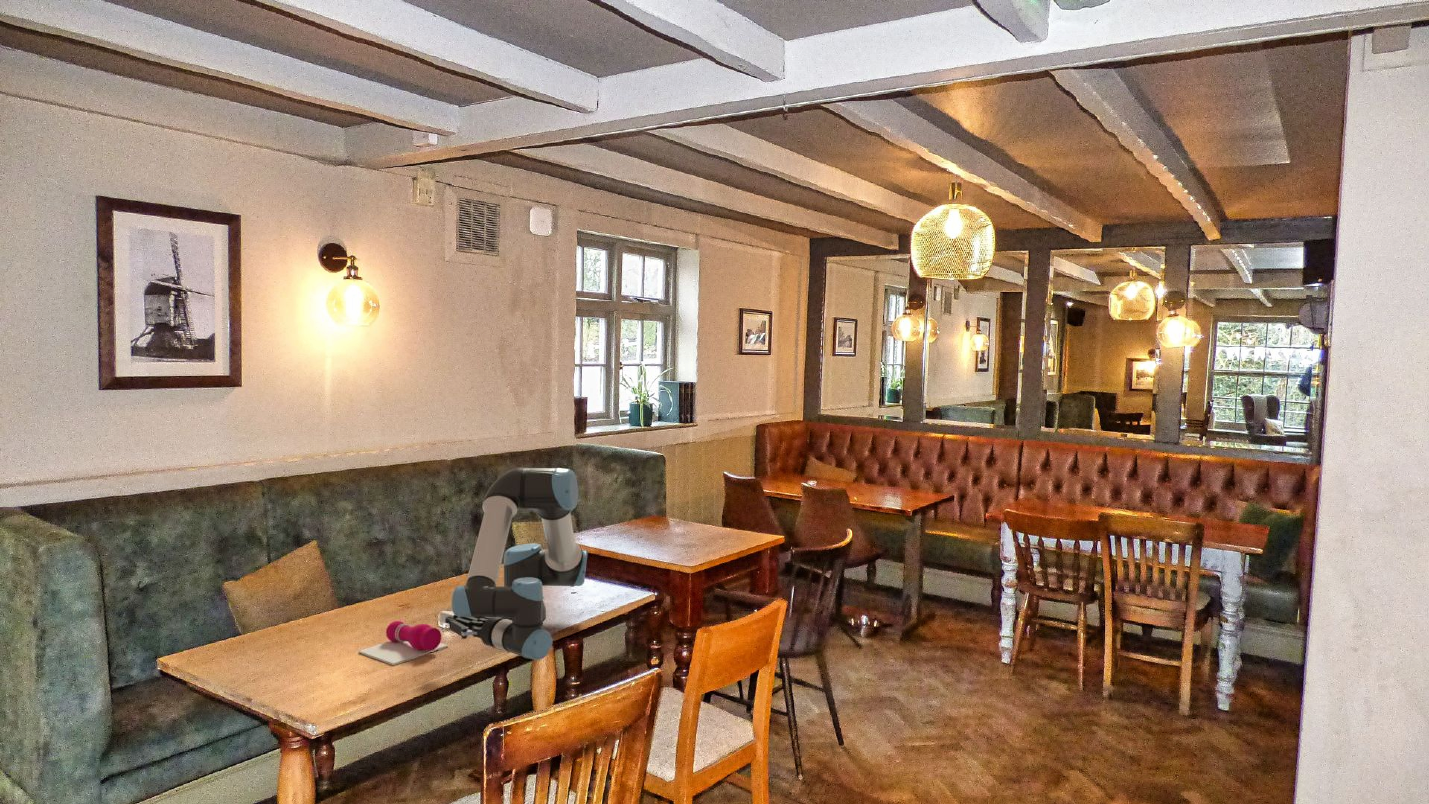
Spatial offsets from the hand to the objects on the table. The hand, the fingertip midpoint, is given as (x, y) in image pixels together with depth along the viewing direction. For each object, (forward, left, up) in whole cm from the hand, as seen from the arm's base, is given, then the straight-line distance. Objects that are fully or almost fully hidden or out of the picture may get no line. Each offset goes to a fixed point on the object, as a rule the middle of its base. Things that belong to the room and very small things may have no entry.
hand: (442, 616), depth 234 cm
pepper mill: (+4, -7, -9) cm, 12 cm away
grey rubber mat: (+13, -12, -13) cm, 22 cm away
